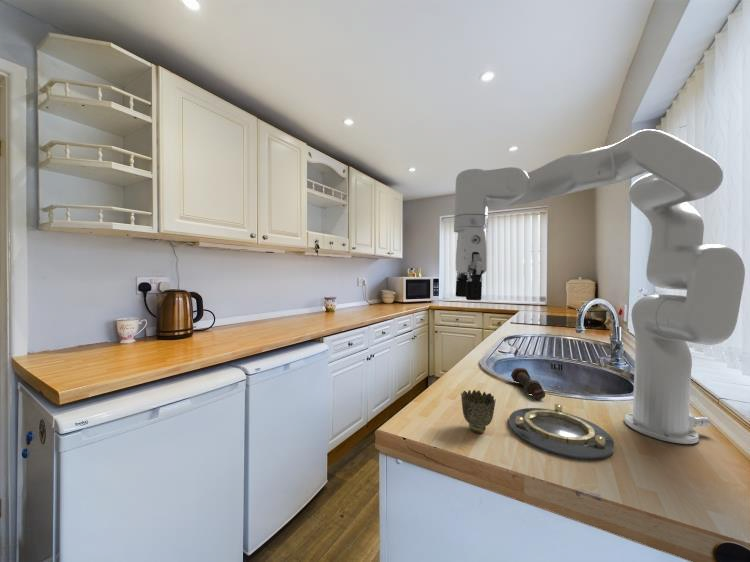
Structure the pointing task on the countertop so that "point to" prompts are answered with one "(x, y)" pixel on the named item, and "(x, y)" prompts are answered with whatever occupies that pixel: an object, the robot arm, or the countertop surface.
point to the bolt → (528, 383)
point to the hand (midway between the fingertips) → (467, 298)
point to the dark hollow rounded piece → (478, 409)
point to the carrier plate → (561, 433)
